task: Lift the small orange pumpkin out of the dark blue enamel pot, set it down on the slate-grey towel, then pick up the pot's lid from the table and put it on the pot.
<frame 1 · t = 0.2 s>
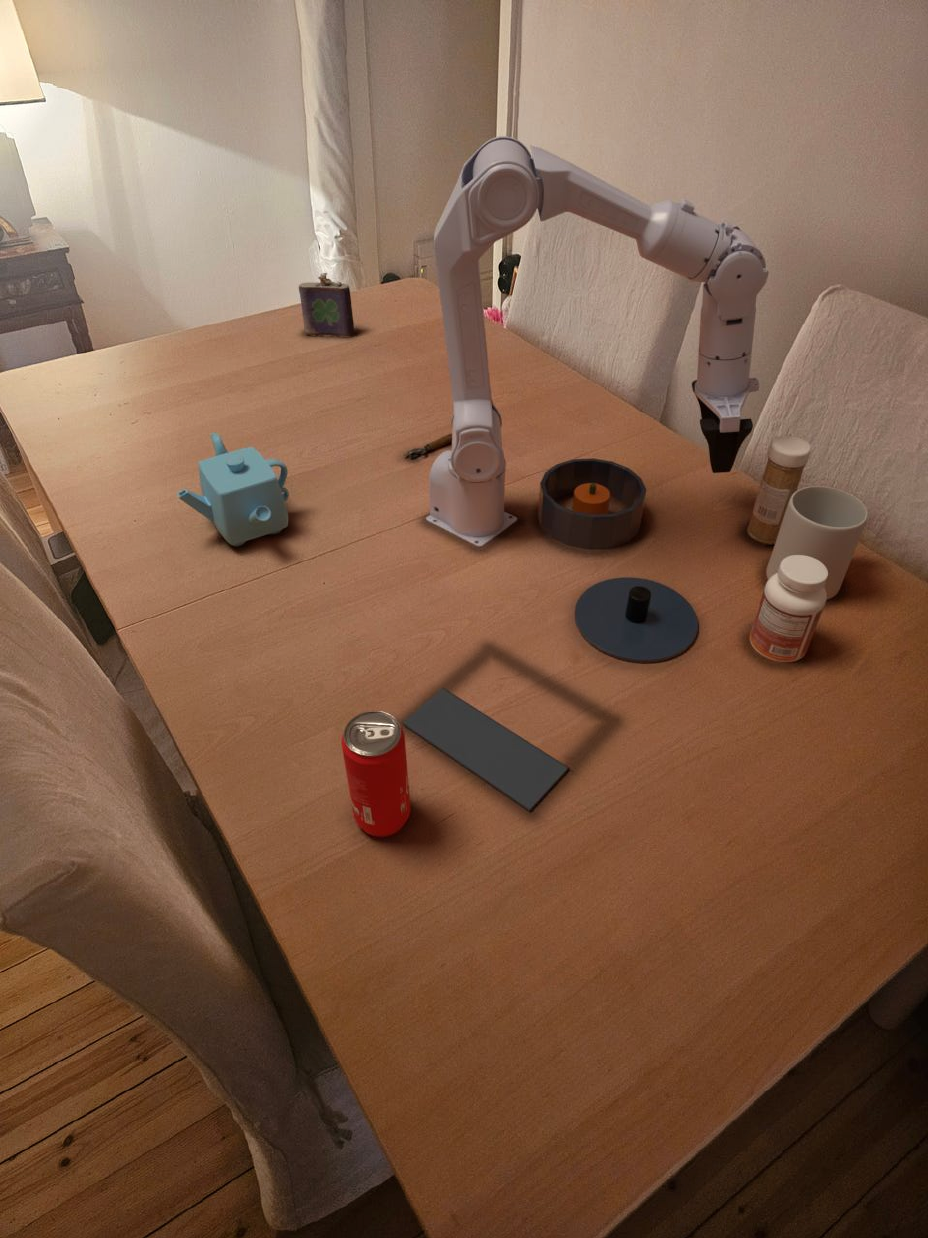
hand: (717, 453, 101), 11 cm above the table, tool pointing down, fingers open, 7 cm apart
sprinkles bottle: (763, 536, 106), on the table
flask: (330, 334, 151), on the table
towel: (507, 723, 83), on the table
pumpkin: (589, 518, 108), resting on pot
teapot: (243, 527, 108), on the table
can opener: (430, 449, 121), on the table
pot: (588, 521, 108), on the table
pot lid: (635, 619, 93), point 1 cm above the table
beverage can: (382, 817, 75), on the table
pill bottle: (776, 647, 91), on the table
mug: (810, 577, 100), on the table
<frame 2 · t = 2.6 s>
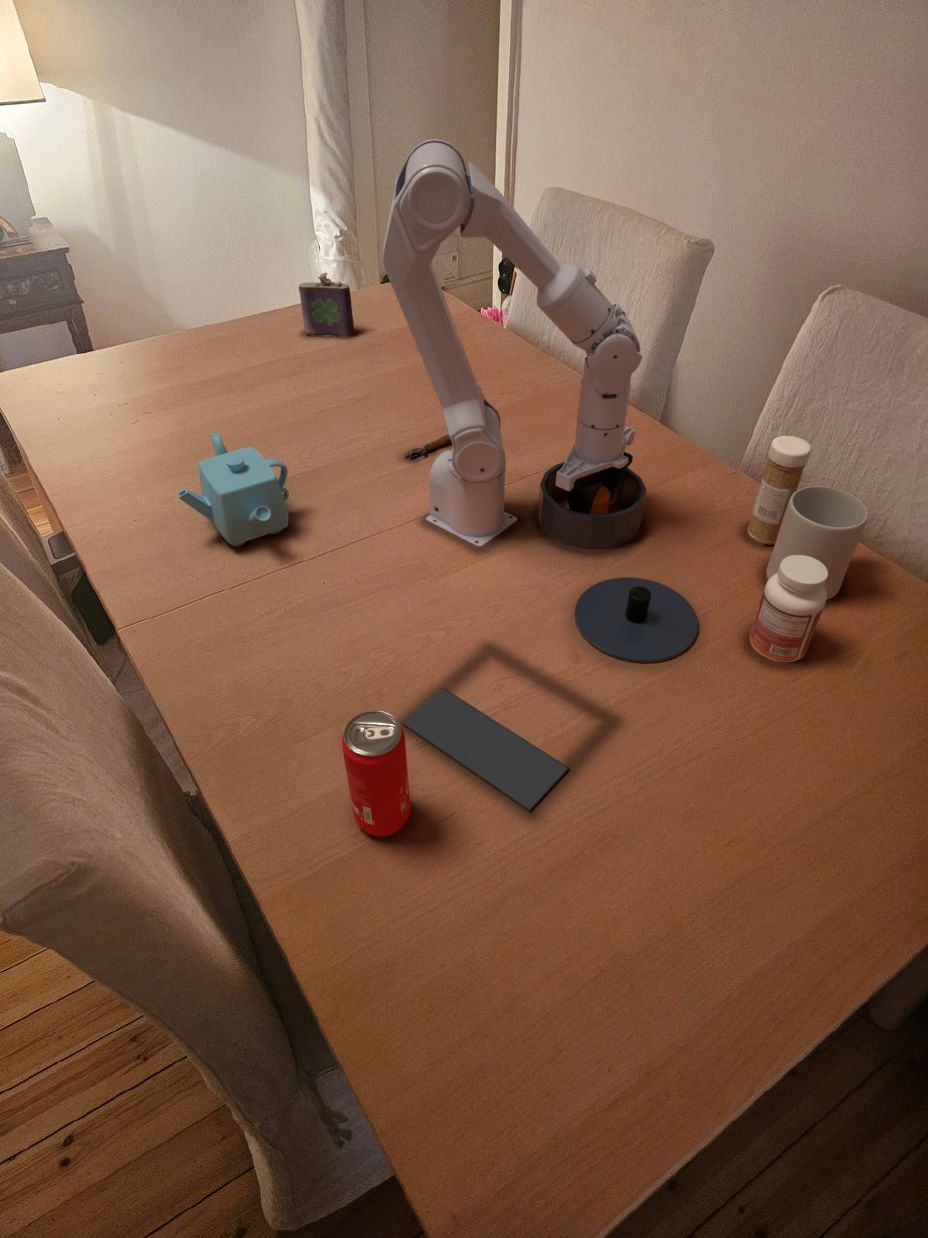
hand: (589, 511, 107), 2 cm above the table, tool pointing down, fingers closed on pumpkin, 4 cm apart
pumpkin: (589, 518, 108), point 1 cm above the table, touching gripper, pot
everything else where it was.
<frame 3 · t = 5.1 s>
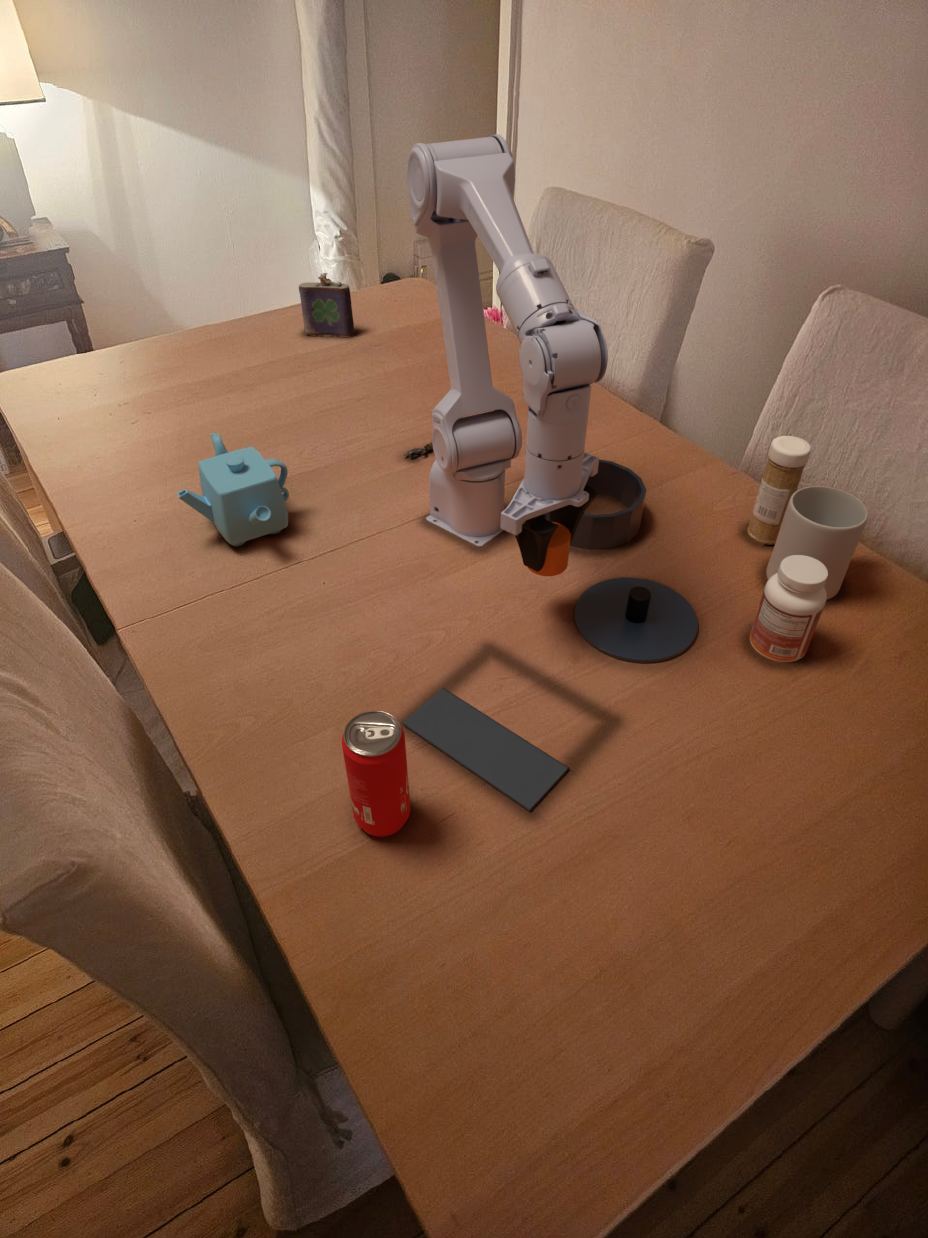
hand: (546, 555, 89), 8 cm above the table, tool pointing down, fingers closed on pumpkin, 4 cm apart
pumpkin: (546, 563, 90), point 7 cm above the table, touching gripper
everything else where it was.
when the fingers open (1 cm above the table, at t = 8.0 s): pumpkin stays where it is, resting on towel.
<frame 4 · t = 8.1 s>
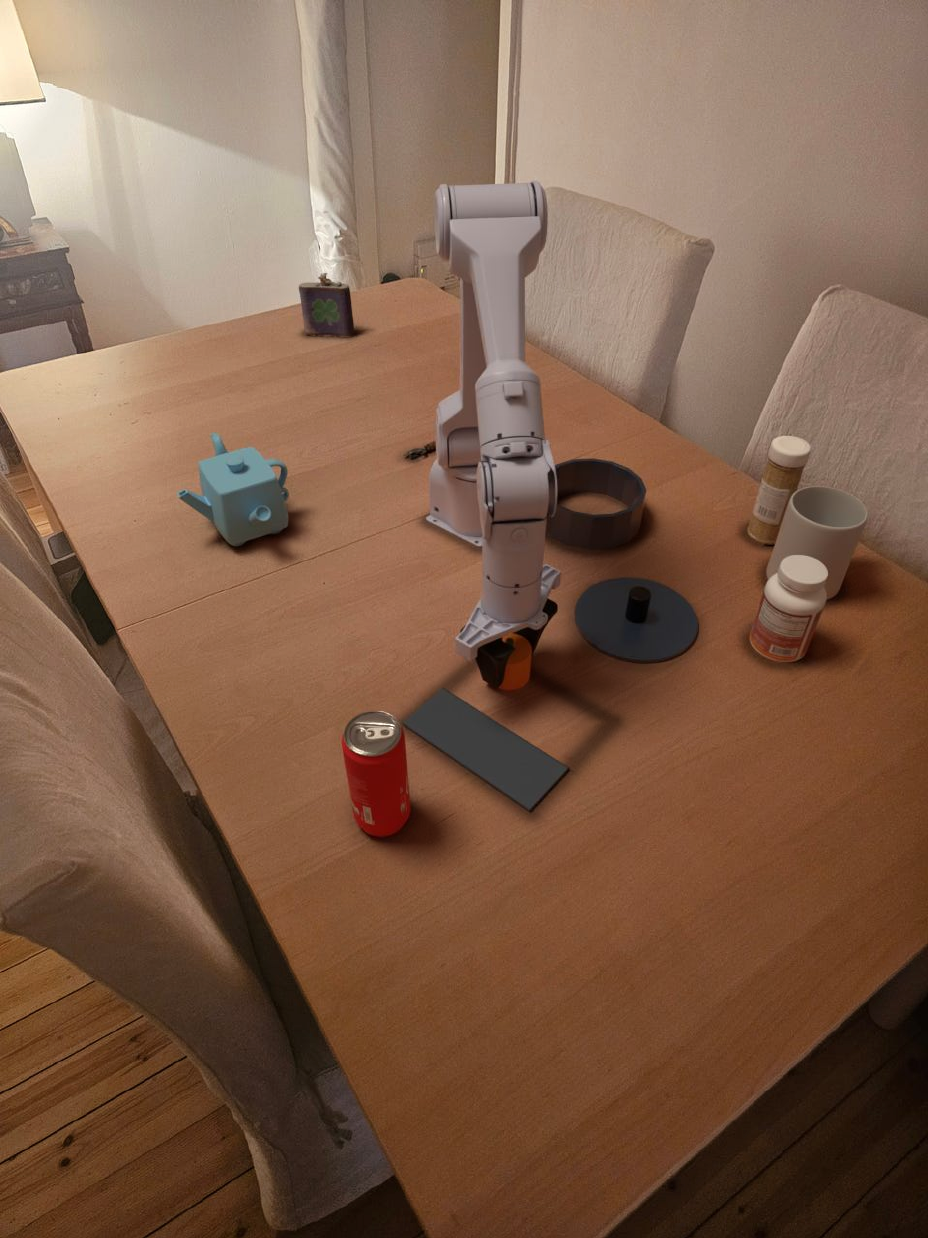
hand: (507, 668, 87), 1 cm above the table, tool pointing down, fingers open, 5 cm apart
pumpkin: (508, 674, 87), resting on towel
everything else where it was.
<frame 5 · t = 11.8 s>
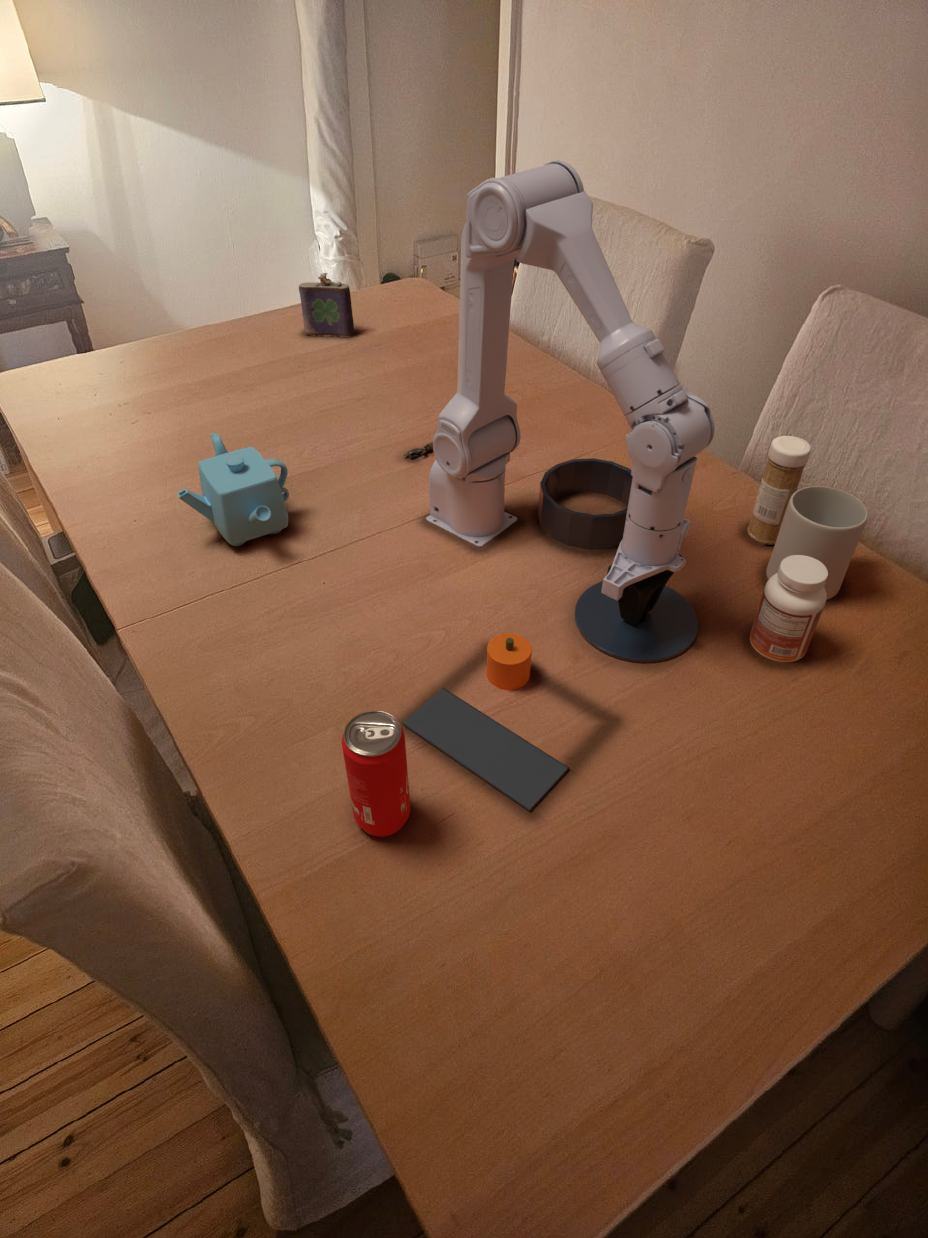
hand: (636, 613, 93), 2 cm above the table, tool pointing down, fingers closed on pot lid, 2 cm apart
pot lid: (635, 619, 93), point 1 cm above the table, touching gripper
everything else where it was.
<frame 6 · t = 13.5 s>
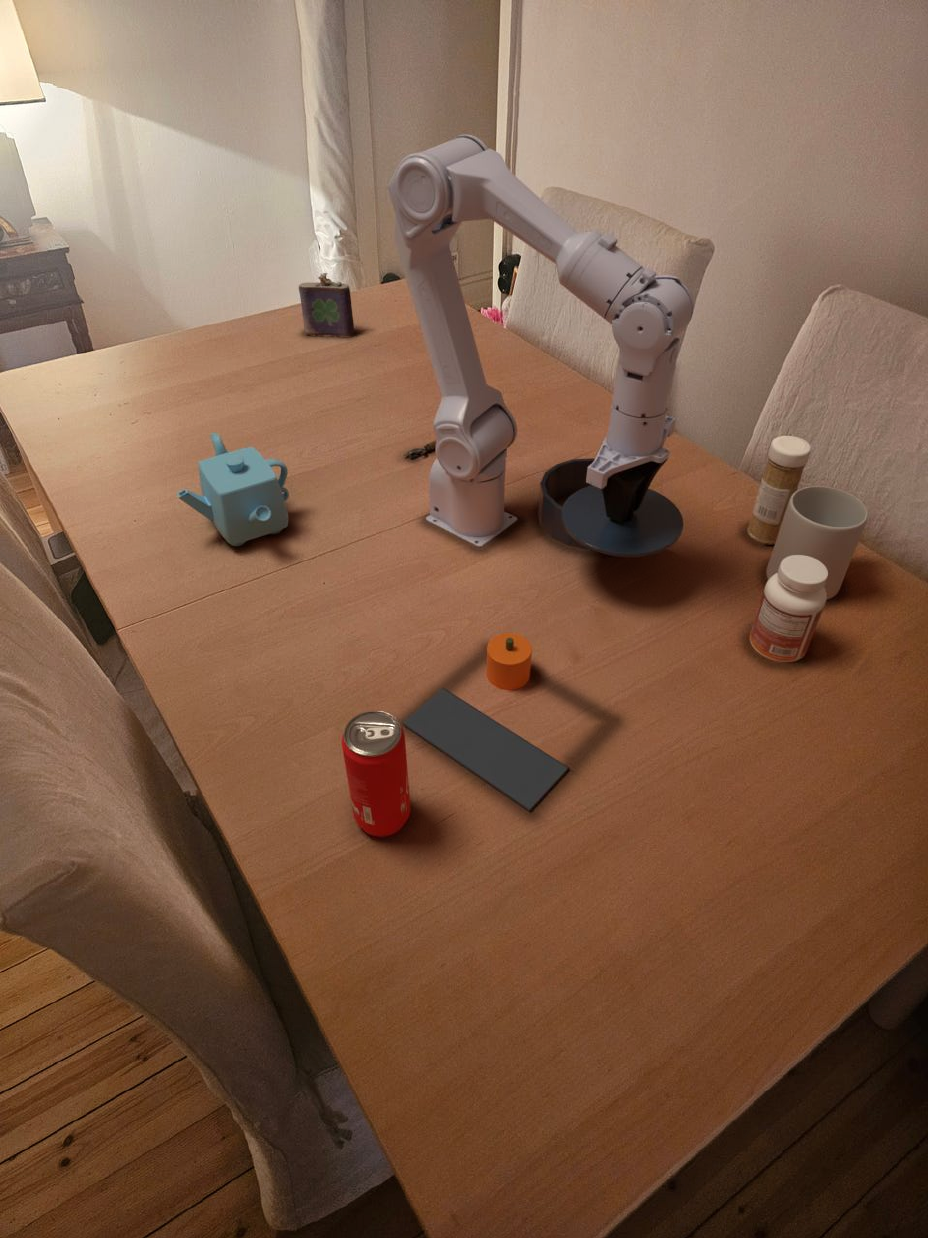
hand: (622, 512, 94), 9 cm above the table, tool pointing down, fingers closed on pot lid, 2 cm apart
pot lid: (621, 519, 94), point 8 cm above the table, touching gripper
everything else where it was.
when the fingers open (6 cm above the table, at t = 15.5 s): pot lid stays where it is, resting on pot.
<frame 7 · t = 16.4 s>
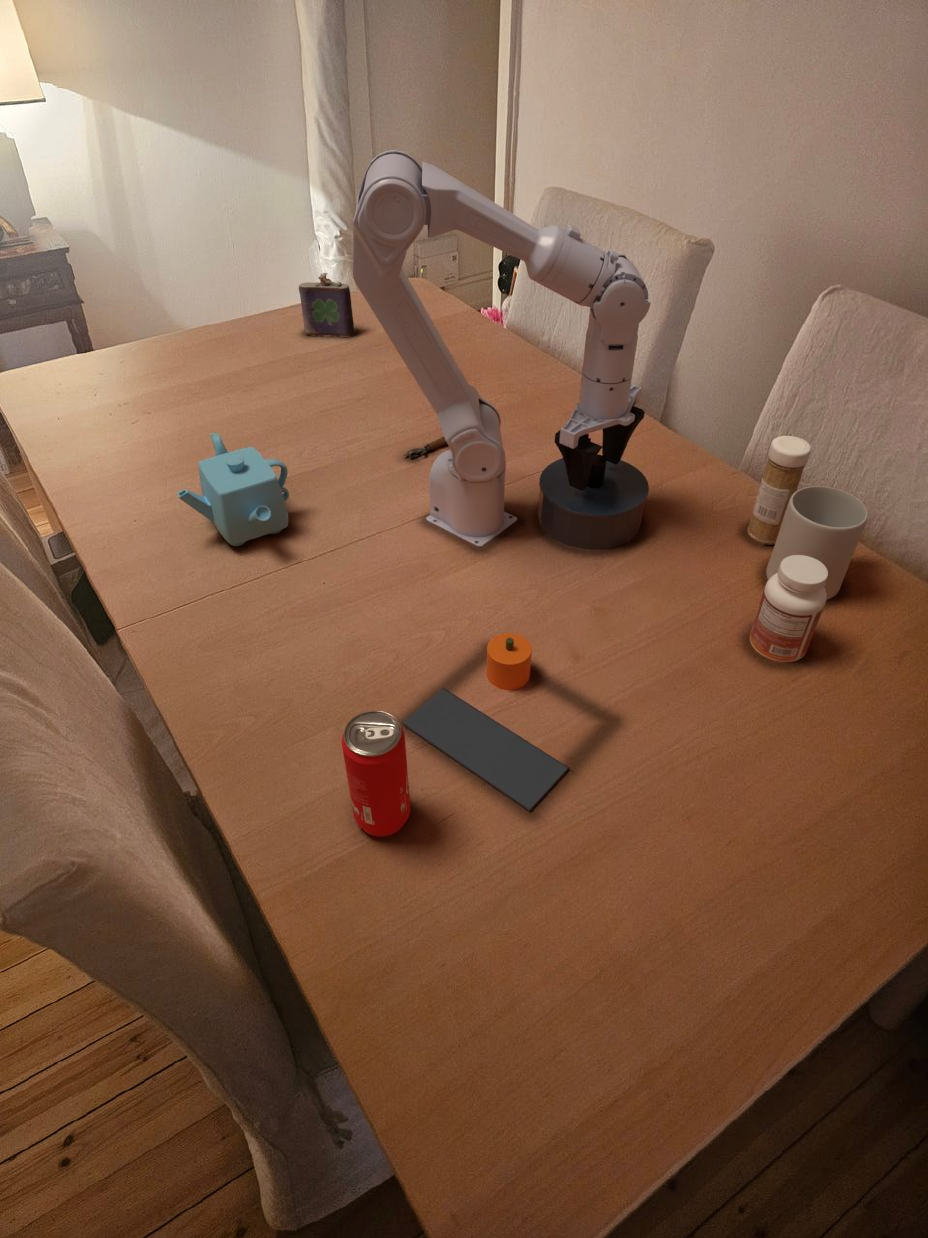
hand: (594, 473, 103), 7 cm above the table, tool pointing down, fingers open, 7 cm apart
pot lid: (593, 486, 104), point 5 cm above the table, touching pot
everything else where it was.
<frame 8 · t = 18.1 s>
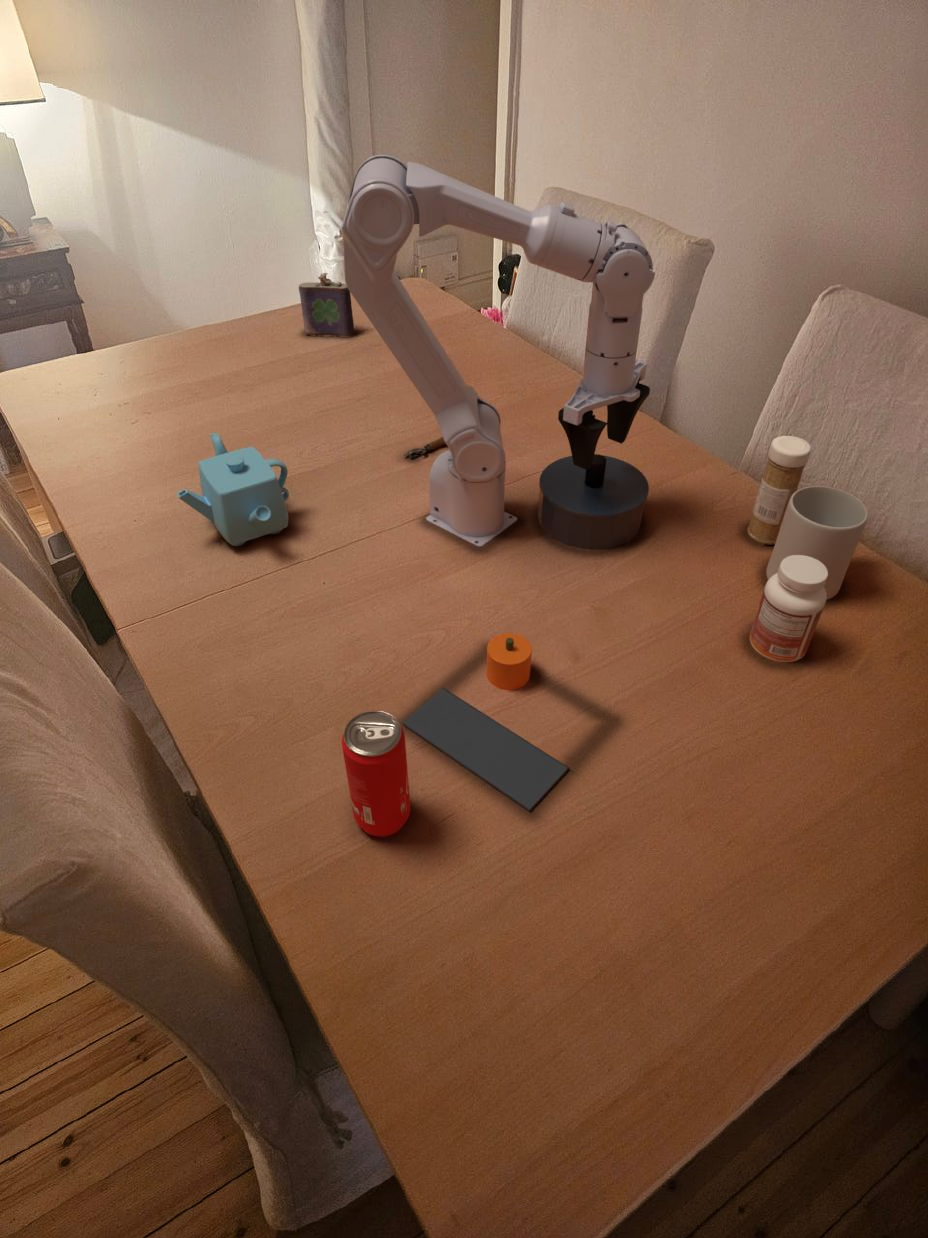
hand: (599, 452, 101), 10 cm above the table, tool pointing down, fingers open, 7 cm apart
nothing on the table moved.
at the end: pumpkin inside the target area on the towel (6.3 cm from its centre), point 0.4 cm above the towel's base; pot lid 0.0 cm off-centre on the pot, point 5.5 cm above the pot's base; pot lid tilted 0° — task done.
